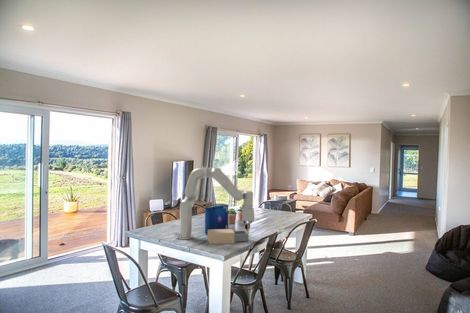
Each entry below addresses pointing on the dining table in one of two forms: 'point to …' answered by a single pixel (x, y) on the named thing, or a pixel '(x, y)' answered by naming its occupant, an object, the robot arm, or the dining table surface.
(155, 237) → the dining table surface
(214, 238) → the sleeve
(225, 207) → the book
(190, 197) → the robot arm
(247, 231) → the grey stepped block
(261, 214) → the dining table surface
